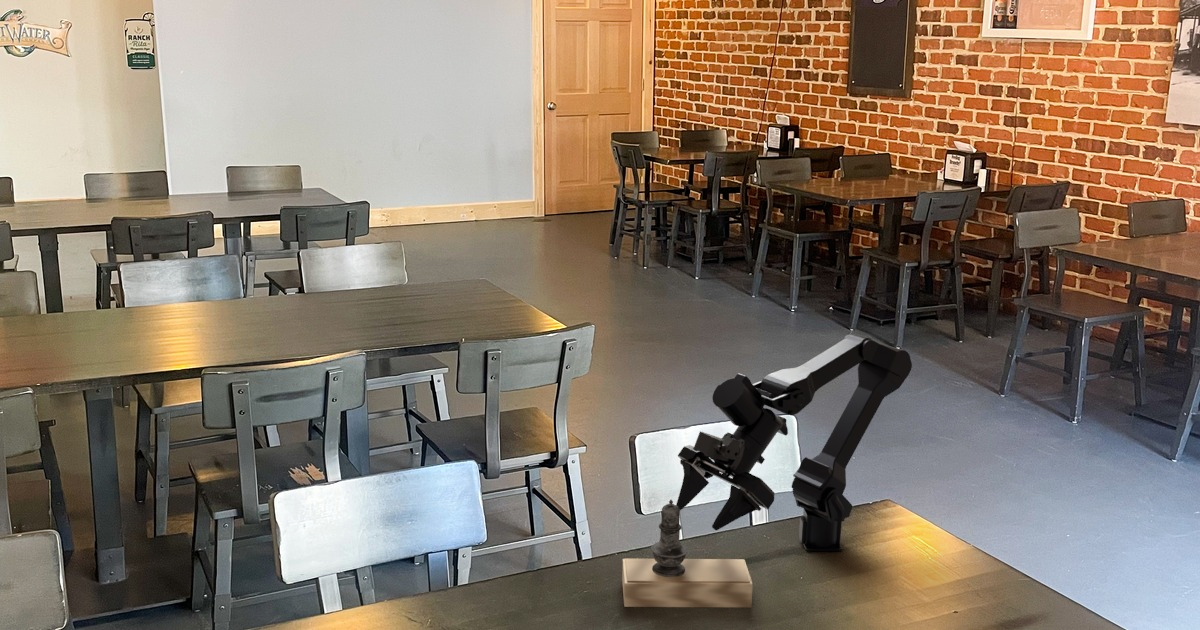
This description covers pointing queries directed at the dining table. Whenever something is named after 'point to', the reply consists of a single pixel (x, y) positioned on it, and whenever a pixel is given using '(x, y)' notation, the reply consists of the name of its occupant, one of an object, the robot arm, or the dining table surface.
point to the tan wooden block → (688, 584)
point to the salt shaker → (669, 544)
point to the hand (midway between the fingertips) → (695, 518)
